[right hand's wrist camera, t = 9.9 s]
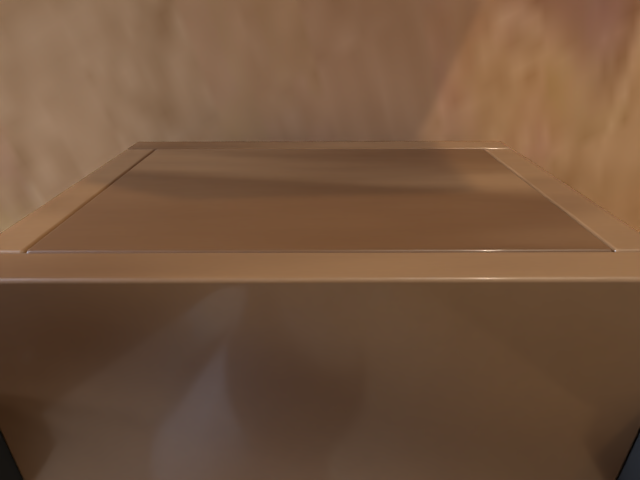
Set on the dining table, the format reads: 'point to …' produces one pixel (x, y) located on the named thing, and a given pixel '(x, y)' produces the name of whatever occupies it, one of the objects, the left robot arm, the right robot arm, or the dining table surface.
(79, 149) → the dining table surface
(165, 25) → the dining table surface
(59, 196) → the cabinet
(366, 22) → the dining table surface
